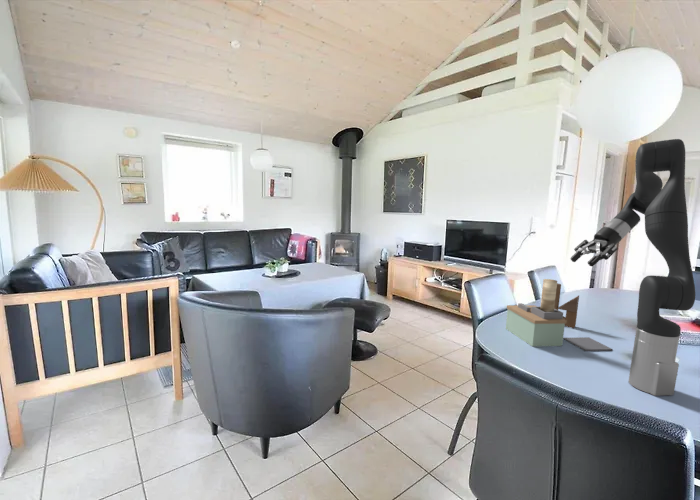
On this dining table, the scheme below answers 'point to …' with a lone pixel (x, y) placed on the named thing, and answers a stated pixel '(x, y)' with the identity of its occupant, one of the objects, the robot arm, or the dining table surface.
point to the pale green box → (536, 325)
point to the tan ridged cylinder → (548, 295)
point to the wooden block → (567, 308)
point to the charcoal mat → (587, 344)
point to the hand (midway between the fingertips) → (580, 262)
